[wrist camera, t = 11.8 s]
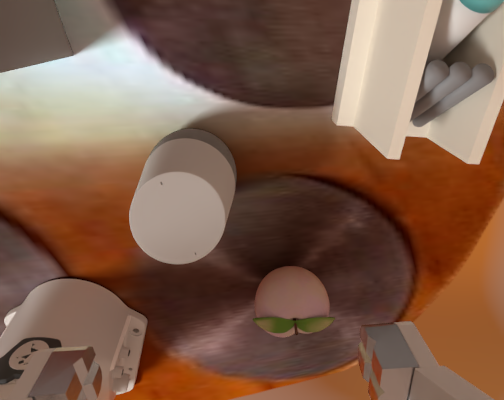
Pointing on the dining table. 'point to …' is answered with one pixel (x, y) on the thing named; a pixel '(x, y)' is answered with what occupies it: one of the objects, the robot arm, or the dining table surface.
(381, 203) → the dining table surface
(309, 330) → the decorative fruit
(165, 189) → the smart speaker
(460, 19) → the marker
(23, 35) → the perfume bottle
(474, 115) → the tilted socket
